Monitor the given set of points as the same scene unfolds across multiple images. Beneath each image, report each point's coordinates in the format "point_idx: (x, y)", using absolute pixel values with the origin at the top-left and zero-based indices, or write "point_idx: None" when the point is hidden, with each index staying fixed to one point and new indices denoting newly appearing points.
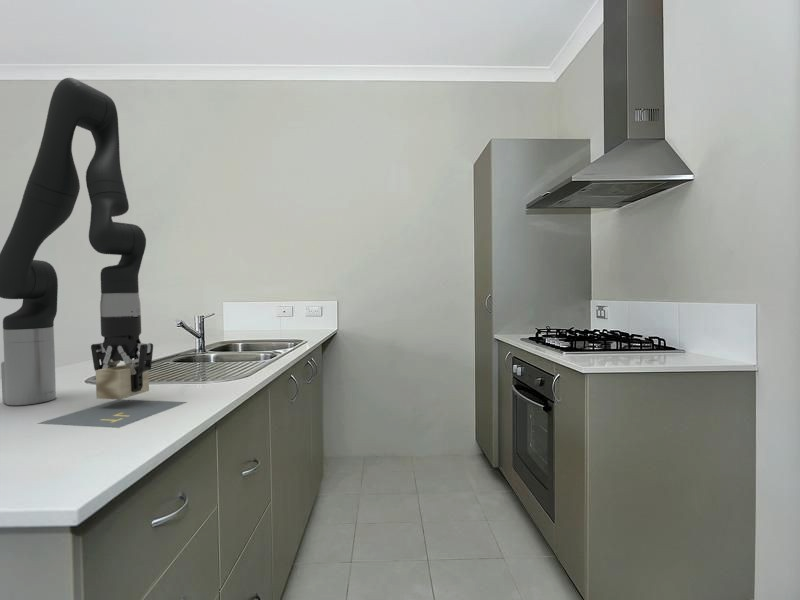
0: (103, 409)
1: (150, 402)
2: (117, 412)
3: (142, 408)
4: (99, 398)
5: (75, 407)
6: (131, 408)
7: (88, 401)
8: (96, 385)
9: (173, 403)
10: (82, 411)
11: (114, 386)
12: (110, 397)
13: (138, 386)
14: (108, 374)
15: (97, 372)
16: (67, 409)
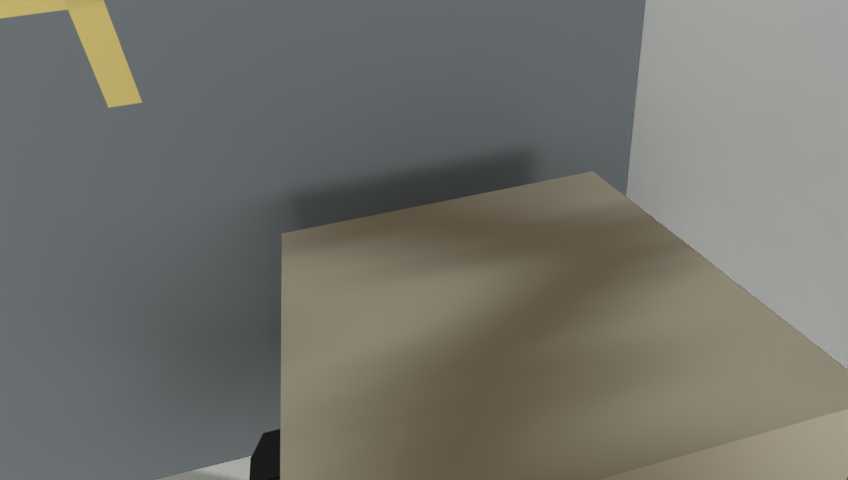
0: (456, 131)
1: (272, 408)
2: (196, 94)
3: (115, 277)
4: (558, 179)
5: (808, 164)
6: (225, 243)
7: (818, 295)
8: (678, 243)
9: (40, 462)
10: (594, 10)
11: (385, 303)
12: (425, 215)
13: (252, 468)
14: (551, 414)
15: (806, 377)
16: (832, 103)
